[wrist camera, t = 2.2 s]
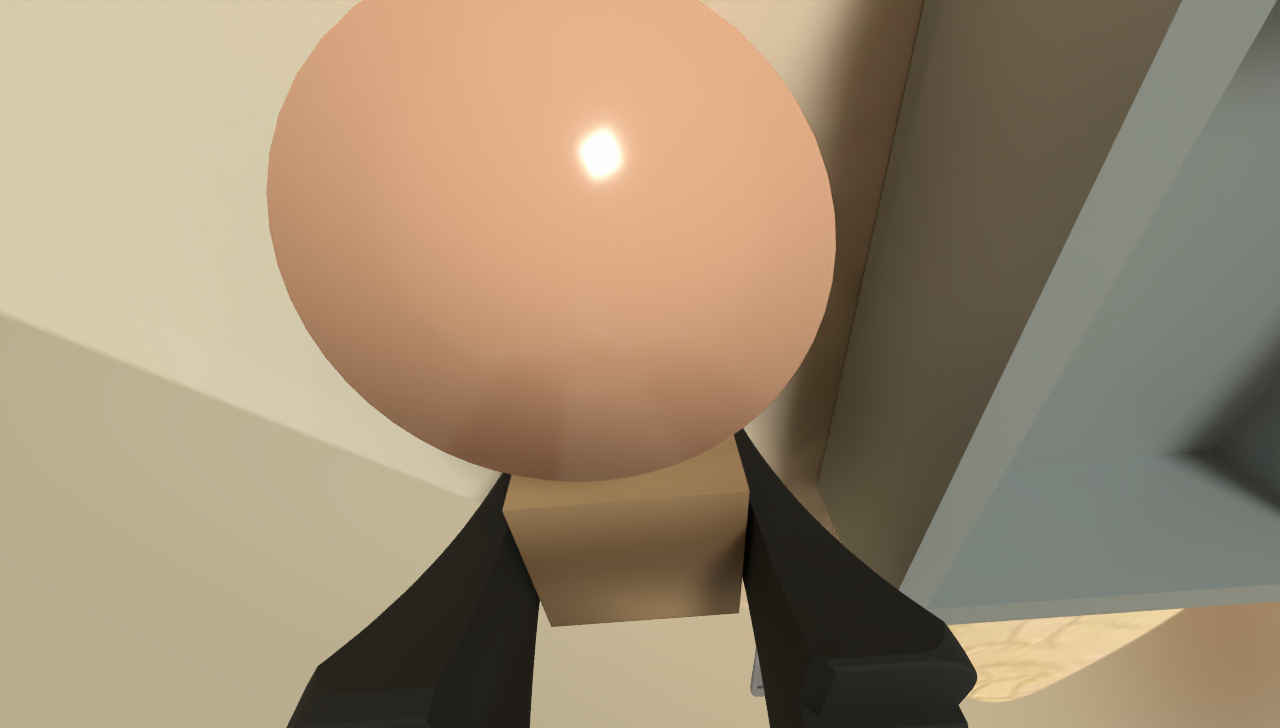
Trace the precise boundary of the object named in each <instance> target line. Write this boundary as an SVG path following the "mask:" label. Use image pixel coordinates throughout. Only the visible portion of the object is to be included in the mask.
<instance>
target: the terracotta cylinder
mask: <svg viewBox="0 0 1280 728" xmlns="http://www.w3.org/2000/svg"><path fill="white" fill-rule="evenodd" d="M267 202H268V215H269V227H270V233H271V238H272V242H273V246H274V251H275V255H276V259H277V264H278V267H279V270H280V272H281V275H282V278H283V280H284V283H285V286H286V288H287V291H288V294H289V296H290V299H291V301H292V303H293V305H294V307H295V309H296V310H297V312H298V314H299V316H300V318H301V320H302V322H303V324H304V326H305V328H306V329H307V331H308V332H309V334H310V335H311V337H312V338H313V340H314V341H315V343H316V344H317V346H318V347H319V349H320V350H321V351H322V353H323V354H324V356H325V357H326V359H327V360H328V361H329V362H330V363H331V364H332V366H333V367H334V368H335V369H336V370H337V371H338V373H339V374H340V375H341V376H342V377H343V378H344V380H345V381H346V382H347V383H348V384H349V385H350V386H351V387H352V388H353V389H354V390H356V391H357V392H358V393H359V394H360V395H361V396H362V397H363V398H364V399H365V400H366V401H367V402H368V403H369V404H370V405H372V406H373V407H374V408H376V409H377V410H378V411H379V412H381V413H382V414H383V415H384V416H386V417H387V418H388V419H390V420H391V421H392V422H393V423H395V424H397V425H398V426H400V427H401V428H403V429H404V430H406V431H407V432H409V433H411V434H412V435H414V436H415V437H417V438H418V439H420V440H422V441H424V442H426V443H428V444H430V445H432V446H434V447H436V448H438V449H440V450H441V451H443V452H446V453H448V454H450V455H453V456H455V457H458V458H460V459H463V460H465V461H467V462H470V463H473V464H476V465H479V466H482V467H485V468H489V469H492V470H495V471H499V472H503V473H508V474H512V475H517V476H521V477H527V478H535V479H542V480H549V481H569V482H584V481H604V480H612V479H620V478H628V477H632V476H637V475H641V474H646V473H651V472H654V471H657V470H660V469H664V468H667V467H670V466H673V465H676V464H679V463H681V462H683V461H686V460H688V459H690V458H693V457H695V456H697V455H700V454H702V453H703V452H705V451H707V450H709V449H711V448H713V447H714V446H716V445H718V444H720V443H722V442H723V441H725V440H726V439H728V438H729V437H731V436H732V435H733V434H735V433H736V432H738V431H739V430H741V429H742V428H744V427H745V426H746V425H747V424H748V423H749V422H751V421H752V420H753V419H754V418H755V417H756V416H758V415H759V414H760V413H761V412H762V411H763V410H764V409H765V408H766V407H767V406H768V405H769V404H770V403H771V402H772V401H773V400H774V399H775V398H776V397H777V395H778V394H779V393H780V392H781V391H782V390H783V389H784V387H785V386H786V385H787V383H788V382H789V380H790V379H791V378H792V376H793V375H794V374H795V372H796V371H797V369H798V368H799V367H800V365H801V363H802V361H803V359H804V358H805V356H806V354H807V352H808V350H809V349H810V347H811V345H812V343H813V341H814V339H815V336H816V334H817V331H818V329H819V326H820V324H821V321H822V319H823V316H824V314H825V310H826V306H827V302H828V298H829V294H830V290H831V286H832V281H833V272H834V262H835V253H836V235H835V212H834V206H833V201H832V195H831V189H830V184H829V178H828V174H827V171H826V168H825V165H824V162H823V159H822V156H821V153H820V150H819V147H818V144H817V141H816V138H815V136H814V134H813V132H812V130H811V128H810V126H809V124H808V123H807V121H806V119H805V117H804V115H803V113H802V111H801V109H800V107H799V105H798V103H797V101H796V99H795V98H794V96H793V95H792V94H791V92H790V91H789V89H788V88H787V87H786V85H785V84H784V82H783V81H782V80H781V78H780V77H779V75H778V74H777V73H776V71H775V70H774V69H773V67H772V66H771V64H770V63H769V62H768V61H767V60H766V59H765V58H764V57H763V56H762V55H761V54H760V53H759V52H758V50H757V49H756V48H755V47H754V46H753V45H752V44H751V43H750V42H749V41H748V40H747V39H746V38H745V37H744V36H743V35H742V34H741V33H740V32H739V31H738V30H737V29H736V28H735V27H734V26H732V25H731V24H729V23H728V22H727V21H725V20H724V19H723V18H721V17H720V16H719V15H717V14H716V13H715V12H713V11H712V10H711V9H709V8H708V7H707V6H705V5H704V4H703V3H701V2H700V1H699V0H363V1H361V2H360V3H358V4H357V5H355V6H354V7H353V8H352V9H351V10H350V11H349V12H348V13H347V14H346V15H345V16H344V17H343V18H342V19H341V20H340V21H339V22H338V23H337V24H336V25H335V26H334V27H333V28H332V29H330V30H329V31H328V32H327V33H326V34H325V35H324V36H323V37H322V39H321V40H320V41H319V43H318V44H317V46H316V47H315V49H314V50H313V51H312V53H311V54H310V56H309V57H308V59H307V60H306V62H305V63H304V64H303V66H302V67H301V69H300V70H299V72H298V73H297V75H296V77H295V79H294V81H293V84H292V86H291V88H290V90H289V93H288V95H287V97H286V99H285V101H284V104H283V106H282V108H281V110H280V113H279V117H278V121H277V125H276V129H275V133H274V137H273V141H272V145H271V149H270V154H269V167H268V180H267Z"/></svg>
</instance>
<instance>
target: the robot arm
mask: <svg viewBox="0 0 1280 728" xmlns="http://www.w3.org/2000/svg"><path fill="white" fill-rule="evenodd" d="M734 438H735V441H736V445H737V448H738V452H739V455H740V459H741V463H742V466H743V470H744V473H745V477H746V480H747V484H748V487H749V491H750V492H749V503H748V515H747V526H746V538H745V549H744V560H743V572H742V578H743V582H744V586H745V590H746V595H747V600H748V605H749V610H750V615H751V621H752V626H753V631H754V636H755V642H756V653H755V660H754V666H753V673H752V679H751V686H750V688H751V693H752V695H754V696H765V699H766V705H767V711H768V717H769V723H770V728H968V723H967V721H966V719H965V717H964V715H963V713H962V711H961V709H960V707H959V704H960V703H961V701H962V700H963V699H964V698H965V697H966V696H967V695H968V694H969V692H970V691H971V690H972V689H973V687H974V685H975V684H976V681H977V673H976V670H975V669H974V667H973V665H972V663H971V661H970V660H969V658H968V656H967V654H966V653H965V651H964V650H963V648H962V647H961V645H960V644H959V642H958V641H957V639H956V638H955V636H954V635H953V633H952V632H951V631H950V629H949V628H948V626H947V625H946V624H945V622H944V621H943V620H941V619H940V618H938V617H937V616H935V615H934V614H932V613H931V612H929V611H928V610H926V609H925V608H923V607H922V606H921V605H919V604H918V603H916V602H915V601H913V600H912V599H910V598H909V597H908V596H906V595H905V594H903V593H902V592H901V591H899V590H898V589H897V588H895V587H894V586H893V585H891V584H890V583H889V582H887V581H886V580H885V579H884V578H882V577H881V576H880V575H878V574H877V573H876V572H875V571H873V570H872V569H871V568H870V567H869V566H867V565H866V564H865V563H864V562H863V561H861V560H860V559H859V558H858V557H857V556H855V555H854V554H853V553H852V552H851V551H849V550H848V549H847V548H846V547H845V546H843V545H842V544H841V543H840V542H839V541H838V540H837V539H836V538H835V537H834V536H833V535H832V534H830V533H829V532H828V531H827V530H826V529H825V528H824V527H823V526H822V525H821V524H820V523H819V522H818V521H817V520H816V519H815V518H814V517H813V516H812V515H811V514H810V513H809V512H808V511H807V510H806V509H805V508H804V506H803V505H802V504H801V503H800V502H799V501H798V500H797V499H796V498H795V497H794V495H793V494H792V493H791V492H790V491H789V490H788V489H787V487H786V486H785V485H784V484H783V483H782V481H781V480H780V479H779V478H778V476H777V475H776V474H775V473H774V471H773V470H772V469H771V468H770V466H769V465H768V464H767V462H766V461H765V460H764V458H763V457H762V456H761V454H760V453H759V451H758V450H757V449H756V447H755V446H754V444H753V443H752V441H751V440H750V438H749V437H748V435H747V433H746V432H745V430H744V429H743V428H742V429H741V430H739V431H738V432H736V433H735V434H734ZM511 475H512V474H508V473H502V475H501V476H500V478H499V479H498V481H497V482H496V484H495V485H494V487H493V488H492V489H491V491H490V492H489V494H488V495H487V497H486V498H485V500H484V501H483V503H482V504H481V505H480V507H479V508H478V509H477V511H476V512H475V513H474V515H473V516H472V517H471V519H470V520H469V521H468V523H467V524H466V525H465V527H464V528H463V529H462V531H461V532H460V533H459V534H458V535H457V537H456V538H455V539H454V540H453V541H452V542H451V544H450V545H449V546H448V547H447V548H446V549H445V551H444V552H443V553H442V554H441V555H440V556H439V557H438V559H437V560H436V561H435V562H434V563H433V564H432V565H431V566H430V567H429V568H428V569H427V570H426V571H425V572H424V573H423V574H422V575H421V577H420V578H419V579H418V580H417V581H416V582H415V583H414V584H413V585H412V586H411V587H410V588H409V589H408V590H407V591H406V592H405V593H404V594H402V595H401V596H400V597H399V598H398V599H397V600H396V601H395V602H394V603H393V604H392V605H390V606H389V607H388V608H387V609H386V610H385V611H384V612H383V613H382V614H381V615H380V616H379V617H377V619H376V620H374V621H373V622H372V623H371V624H370V625H368V626H367V627H366V628H365V629H364V630H363V631H361V632H360V633H359V634H358V635H357V636H355V637H354V638H353V639H352V640H350V641H349V642H348V643H347V644H345V645H344V646H343V647H342V648H340V649H339V650H338V651H337V652H335V653H334V654H333V655H332V656H330V657H329V658H328V659H327V660H325V661H324V662H323V663H321V664H320V665H319V666H318V667H317V668H316V670H315V672H314V674H313V676H312V677H311V679H310V681H309V683H308V684H307V686H306V688H305V690H304V692H303V695H302V697H301V699H300V701H299V703H298V705H297V707H296V709H295V711H294V713H293V715H292V717H291V719H290V722H289V723H288V726H287V728H530V711H531V697H532V680H533V668H534V655H535V643H536V632H537V622H538V612H539V611H538V610H539V603H540V598H539V596H538V594H537V591H536V589H535V587H534V584H533V582H532V580H531V577H530V575H529V573H528V570H527V568H526V565H525V563H524V561H523V558H522V556H521V554H520V551H519V549H518V547H517V544H516V542H515V540H514V537H513V535H512V532H511V530H510V528H509V525H508V523H507V521H506V518H505V516H504V514H503V511H502V510H503V506H504V502H505V498H506V495H507V491H508V487H509V483H510V479H511Z"/></svg>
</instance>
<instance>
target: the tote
mask: <svg viewBox="0 0 1280 728" xmlns="http://www.w3.org/2000/svg"><path fill="white" fill-rule="evenodd" d="M817 488H818V490H819V493H820V495H821V497H822V500H823V502H824V504H825V506H826V509H827V511H828V513H829V516H830V518H831V520H832V522H833V525H834V527H835V529H836V532H837V534H838V536H839V538H840V541H841V543H842V545H843V546H845V547H846V548H847V549H848V550H849V551H851V552H852V553H853V554H854V555H855V556H857V557H858V558H859V559H860V560H861V561H863V562H864V563H865V564H866V565H867V566H869V567H870V568H871V569H872V570H873V571H875V572H876V573H877V574H878V575H880V576H881V577H882V578H884V579H885V580H886V581H887V582H889V583H890V584H891V585H893V586H894V587H895V588H897V589H898V590H899V591H901V592H902V593H903V594H905V595H906V596H908V597H909V598H910V599H912V600H913V601H915V602H916V603H918V604H919V605H921V606H922V607H923V608H925V609H926V610H928V611H929V612H931V613H932V614H934V615H935V616H937V617H938V618H940V619H941V620H943V621H944V622H945V624H946V625H954V624H968V623H982V622H996V621H1010V620H1024V619H1038V618H1052V617H1067V616H1081V615H1095V614H1109V613H1123V612H1137V611H1151V610H1165V609H1179V608H1193V607H1207V606H1220V605H1235V604H1249V603H1263V602H1277V601H1280V0H925V1H924V5H923V10H922V14H921V19H920V23H919V28H918V32H917V37H916V41H915V46H914V50H913V55H912V59H911V64H910V68H909V73H908V77H907V82H906V87H905V91H904V96H903V100H902V105H901V109H900V114H899V118H898V123H897V127H896V132H895V136H894V141H893V145H892V150H891V154H890V159H889V163H888V168H887V173H886V177H885V182H884V186H883V191H882V195H881V200H880V204H879V209H878V213H877V218H876V222H875V227H874V231H873V236H872V240H871V245H870V250H869V254H868V259H867V263H866V268H865V272H864V277H863V281H862V286H861V290H860V295H859V299H858V304H857V308H856V313H855V317H854V322H853V326H852V331H851V336H850V340H849V345H848V349H847V354H846V358H845V363H844V367H843V372H842V376H841V381H840V385H839V390H838V394H837V399H836V403H835V408H834V413H833V417H832V422H831V426H830V431H829V435H828V440H827V444H826V449H825V453H824V458H823V462H822V467H821V471H820V476H819V480H818V485H817Z"/></svg>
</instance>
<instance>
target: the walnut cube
mask: <svg viewBox="0 0 1280 728" xmlns="http://www.w3.org/2000/svg"><path fill="white" fill-rule="evenodd" d="M749 492H750V491H749V487H748V484H747V480H746V477H745V473H744V470H743V466H742V463H741V459H740V455H739V452H738V448H737V445H736V441H735V438H734V434H733V435H732V436H731V437H729V438H728V439H726V440H725V441H723V442H722V443H720V444H718V445H716V446H714V447H713V448H711V449H709V450H707V451H705V452H703V453H702V454H700V455H697V456H695V457H693V458H690V459H688V460H686V461H683V462H681V463H679V464H676V465H673V466H670V467H667V468H664V469H660V470H657V471H654V472H651V473H646V474H641V475H637V476H632V477H628V478H620V479H612V480H604V481H584V482H569V481H549V480H542V479H535V478H527V477H521V476H517V475H511V479H510V483H509V487H508V491H507V495H506V498H505V502H504V506H503V510H502V511H503V514H504V516H505V518H506V521H507V523H508V525H509V528H510V530H511V532H512V535H513V537H514V540H515V542H516V544H517V547H518V549H519V551H520V554H521V556H522V558H523V561H524V563H525V565H526V568H527V570H528V573H529V575H530V577H531V580H532V582H533V584H534V587H535V589H536V591H537V594H538V596H539V598H540V601H541V603H542V606H543V608H544V610H545V613H546V615H547V617H548V620H549V622H550V624H551V626H552V627H554V626H569V625H583V624H597V623H610V622H624V621H638V620H652V619H665V618H679V617H692V616H705V615H706V616H707V615H720V614H733V613H739V606H740V595H741V583H742V572H743V560H744V549H745V538H746V526H747V515H748V503H749Z"/></svg>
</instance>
